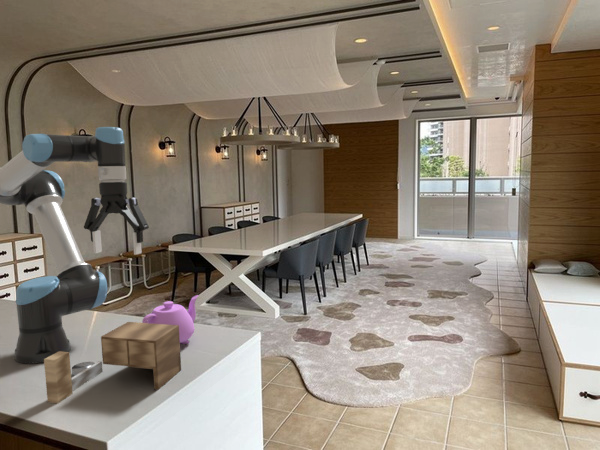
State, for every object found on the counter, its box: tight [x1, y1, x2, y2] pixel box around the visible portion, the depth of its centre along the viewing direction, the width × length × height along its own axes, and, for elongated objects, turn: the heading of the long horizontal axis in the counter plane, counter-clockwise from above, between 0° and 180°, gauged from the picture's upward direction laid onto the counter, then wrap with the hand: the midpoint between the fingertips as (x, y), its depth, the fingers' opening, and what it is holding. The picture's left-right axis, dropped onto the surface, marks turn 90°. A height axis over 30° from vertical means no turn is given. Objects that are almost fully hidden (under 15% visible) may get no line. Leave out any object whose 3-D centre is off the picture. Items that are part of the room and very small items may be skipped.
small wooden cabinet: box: [100, 321, 182, 391], centre depth 127 cm, size 16×12×13 cm
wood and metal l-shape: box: [43, 351, 103, 404], centre depth 122 cm, size 18×3×11 cm, turn 166°
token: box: [71, 361, 96, 378], centre depth 130 cm, size 6×6×2 cm
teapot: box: [141, 294, 199, 345], centre depth 152 cm, size 22×16×14 cm
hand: (117, 253), depth 138 cm, fingers open, 13 cm apart
